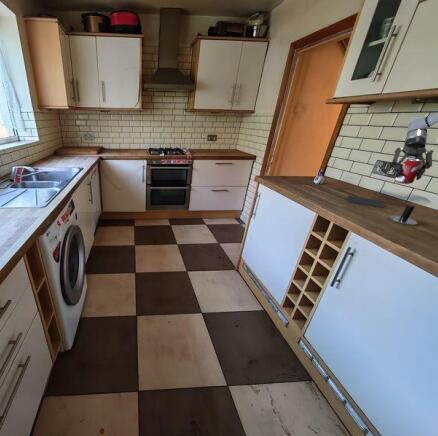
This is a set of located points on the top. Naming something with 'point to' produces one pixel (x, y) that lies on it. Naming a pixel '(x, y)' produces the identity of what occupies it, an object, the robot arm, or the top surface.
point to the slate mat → (365, 201)
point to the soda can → (409, 171)
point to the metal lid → (405, 217)
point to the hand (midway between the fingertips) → (408, 177)
